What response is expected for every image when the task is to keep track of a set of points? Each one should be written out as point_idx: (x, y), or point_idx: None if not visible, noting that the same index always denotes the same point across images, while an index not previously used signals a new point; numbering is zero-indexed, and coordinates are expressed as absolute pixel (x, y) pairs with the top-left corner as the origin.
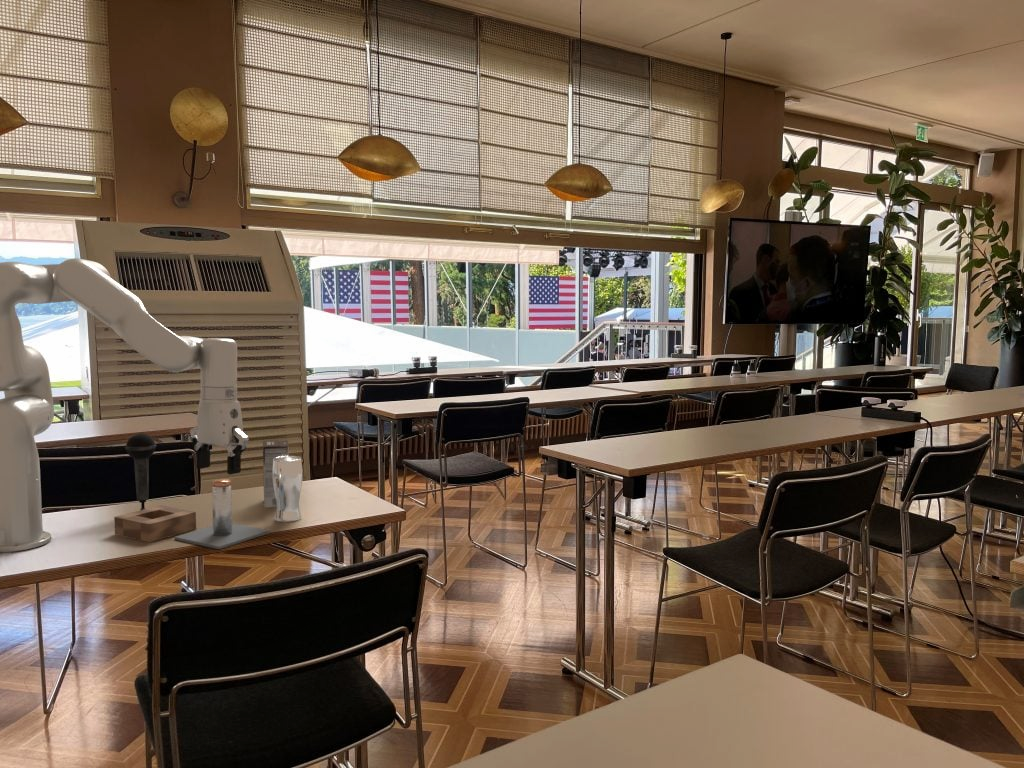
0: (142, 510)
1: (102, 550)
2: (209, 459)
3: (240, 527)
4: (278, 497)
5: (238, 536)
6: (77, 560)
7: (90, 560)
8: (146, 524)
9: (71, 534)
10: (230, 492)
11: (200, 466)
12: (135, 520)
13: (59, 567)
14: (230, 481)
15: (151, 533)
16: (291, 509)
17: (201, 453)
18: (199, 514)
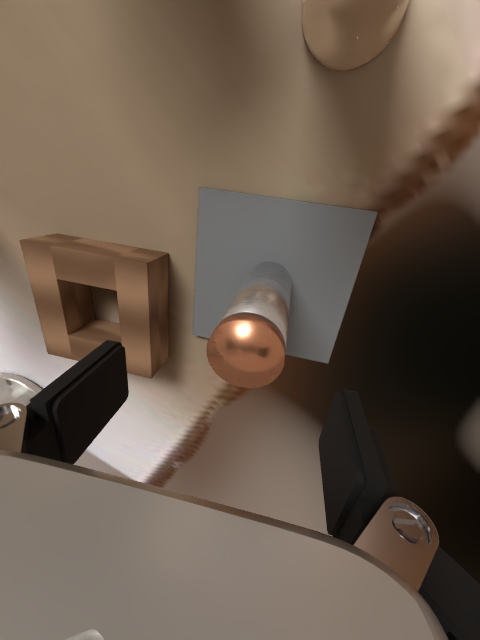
0: (37, 296)
1: (143, 404)
2: (100, 370)
3: (275, 219)
4: (351, 16)
5: (323, 291)
6: (157, 441)
7: (172, 439)
8: (144, 375)
9: (25, 354)
10: (286, 326)
11: (123, 397)
12: None
13: (164, 462)
14: (283, 347)
15: (160, 362)
16: (401, 6)
17: (75, 446)
18: (58, 127)
